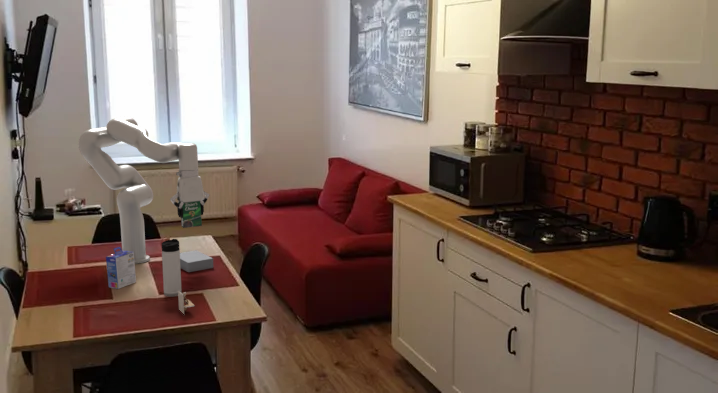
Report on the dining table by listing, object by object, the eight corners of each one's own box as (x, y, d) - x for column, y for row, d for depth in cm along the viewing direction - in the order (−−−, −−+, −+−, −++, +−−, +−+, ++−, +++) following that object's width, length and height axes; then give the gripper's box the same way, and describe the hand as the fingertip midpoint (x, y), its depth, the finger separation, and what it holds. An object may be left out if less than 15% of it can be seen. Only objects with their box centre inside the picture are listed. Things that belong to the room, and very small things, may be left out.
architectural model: (188, 309, 251) (187, 288, 250) (194, 315, 245) (193, 294, 244) (178, 311, 250) (177, 290, 248) (184, 317, 244) (183, 296, 242)
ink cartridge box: (125, 280, 282) (123, 244, 280) (136, 282, 280) (134, 245, 277) (107, 287, 273) (104, 250, 271) (118, 289, 271) (116, 251, 268)
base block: (188, 272, 293) (188, 262, 292) (172, 263, 305) (171, 254, 304) (213, 267, 299) (213, 258, 299) (196, 259, 312) (196, 250, 311)
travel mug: (185, 292, 268) (183, 239, 264) (175, 297, 262) (172, 243, 258) (170, 290, 270) (168, 238, 266) (160, 295, 264) (157, 242, 260)
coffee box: (182, 228, 296) (180, 196, 294) (180, 226, 299) (179, 195, 296) (202, 226, 300) (200, 195, 297) (200, 224, 302) (198, 193, 300)
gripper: (172, 177, 287) (174, 220, 290) (212, 172, 297) (214, 214, 301) (164, 174, 293) (167, 217, 296) (204, 170, 303) (206, 211, 306)
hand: (191, 215), depth 298 cm, fingers closed on coffee box, 8 cm apart
